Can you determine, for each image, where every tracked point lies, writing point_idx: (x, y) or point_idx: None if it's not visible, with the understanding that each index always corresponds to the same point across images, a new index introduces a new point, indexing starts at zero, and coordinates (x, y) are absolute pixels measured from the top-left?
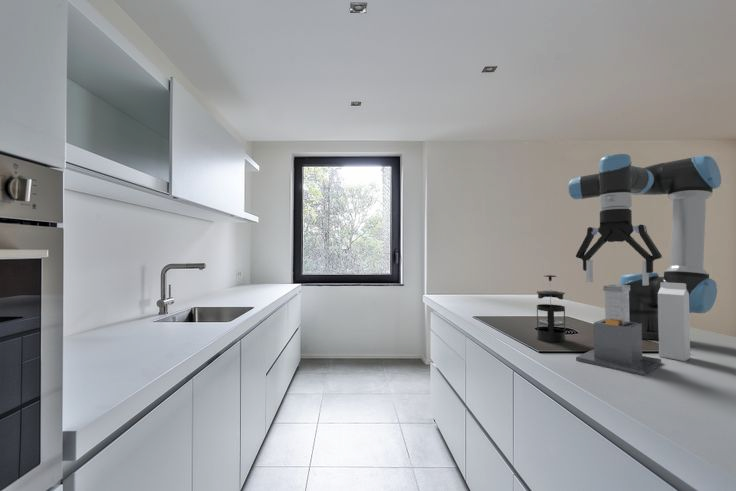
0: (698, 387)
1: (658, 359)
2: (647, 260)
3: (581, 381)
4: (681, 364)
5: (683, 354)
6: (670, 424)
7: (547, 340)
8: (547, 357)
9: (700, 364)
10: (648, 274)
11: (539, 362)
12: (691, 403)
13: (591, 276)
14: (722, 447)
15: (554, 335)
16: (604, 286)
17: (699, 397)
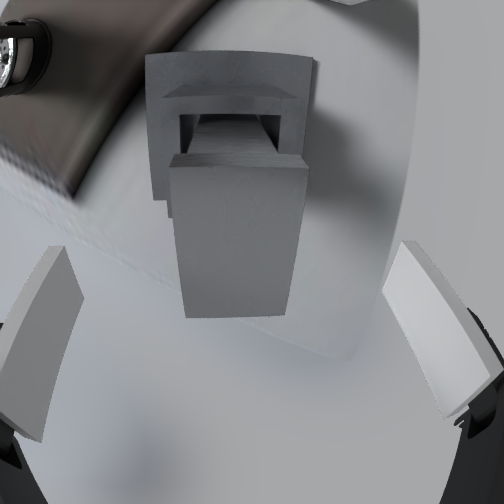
0: (370, 199)
1: (308, 64)
2: (464, 416)
3: None
4: (347, 40)
5: (354, 2)
6: (327, 336)
7: (25, 90)
8: (107, 221)
9: (377, 16)
10: (450, 290)
11: (123, 263)
12: (352, 275)
13: (57, 297)
14: (356, 342)
15: (27, 81)
16: (192, 316)
17: (365, 247)
